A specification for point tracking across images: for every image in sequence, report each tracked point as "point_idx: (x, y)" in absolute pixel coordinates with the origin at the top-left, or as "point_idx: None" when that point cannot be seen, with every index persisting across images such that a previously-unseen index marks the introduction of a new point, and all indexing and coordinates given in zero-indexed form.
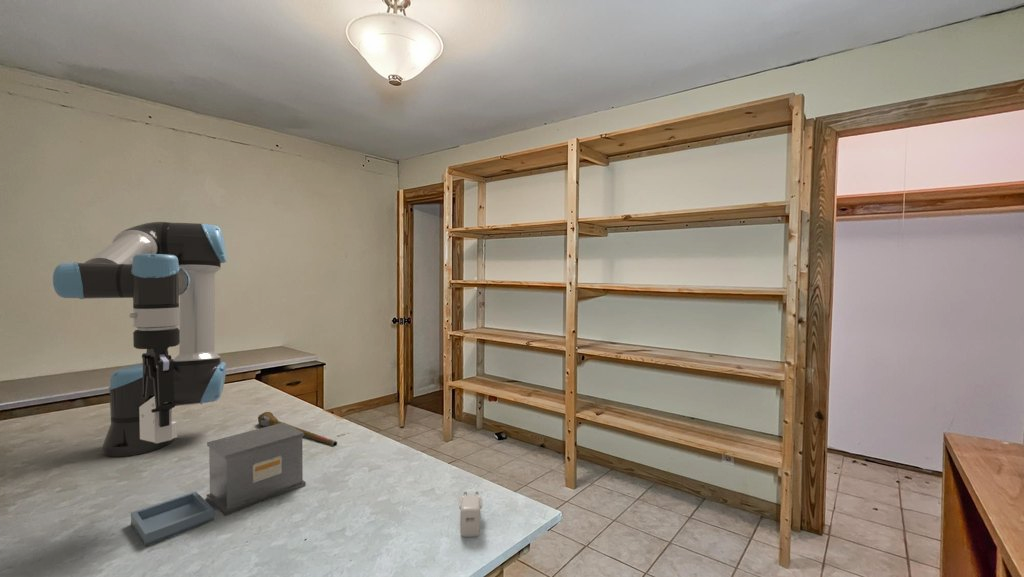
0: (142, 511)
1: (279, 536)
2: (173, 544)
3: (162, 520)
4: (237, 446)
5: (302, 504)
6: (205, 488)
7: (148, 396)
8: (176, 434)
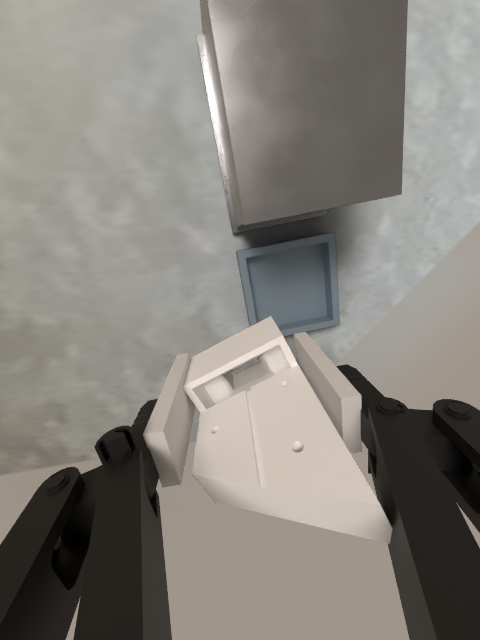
0: None
1: (455, 149)
2: (351, 289)
3: (279, 300)
4: (353, 142)
5: None
6: (185, 229)
7: (160, 521)
8: (272, 320)
